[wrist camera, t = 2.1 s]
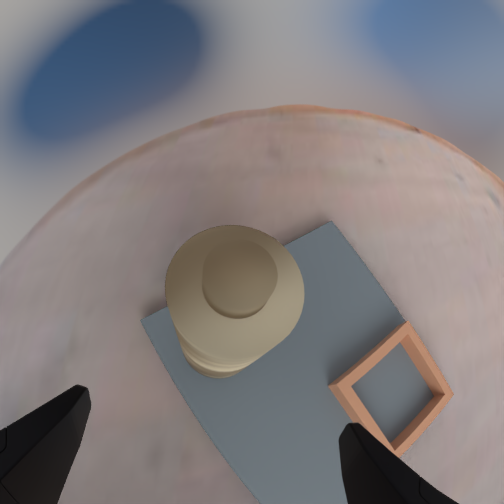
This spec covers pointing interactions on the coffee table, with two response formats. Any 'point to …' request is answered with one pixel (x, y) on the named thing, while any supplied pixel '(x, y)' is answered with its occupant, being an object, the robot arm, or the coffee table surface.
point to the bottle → (232, 298)
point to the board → (314, 381)
